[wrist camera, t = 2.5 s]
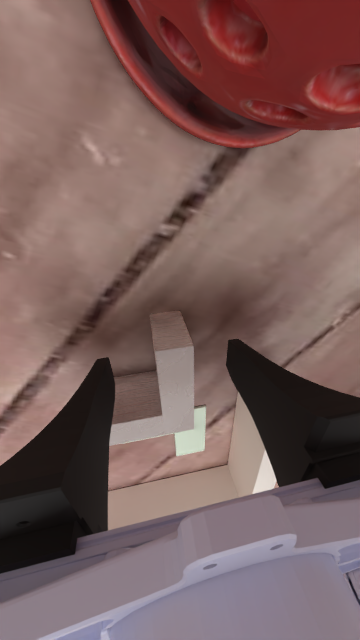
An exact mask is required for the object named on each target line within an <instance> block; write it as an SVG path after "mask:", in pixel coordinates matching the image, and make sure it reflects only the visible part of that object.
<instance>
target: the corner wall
mask: <svg viewBox="0 0 360 640" xmlns="http://www.w3.org/2000/svg"><path fill="white" fill-rule="evenodd" d="M276 481H277V480H276V477H275V474H274V471H273V468H272V466H271V463H270V460H269V458H268V455H267V452H266V450H265V447H264V445H263V442H262V440H261V437H260V435H259V432H258V430H257V428H256V425H255V423H254V421H253V418H252V416H251V414H250V412H249V410H248V408H247V406H246V405H245V403H244V401H243V399H242V397H241V396H240V394H239V392H238V394H237V402H236V409H235V416H234V423H233V430H232V437H231V444H230V451H229V458H228V465H224V466H220V467H215V468H211V469H206V470H202V471H197V472H193V473H188V474H184V475H179V476H175V477H170V478H166V479H161V480H157V481H152V482H148V483H144V484H139V485H135V486H130V487H126V488H121V489H117V490H112V491H108V530H112V529H116V528H120V527H124V526H128V525H132V524H136V523H140V522H144V521H148V520H152V519H156V518H159V517H163V516H167V515H171V514H175V513H179V512H183V511H187V510H191V509H195V508H199V507H203V506H207V505H211V504H215V503H219V502H223V501H227V500H231V499H235V498H239V497H243V496H247V495H251V494H255V493H259V492H263V491H267V490H271V489H273V488H274V486H275V483H276Z"/></svg>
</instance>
